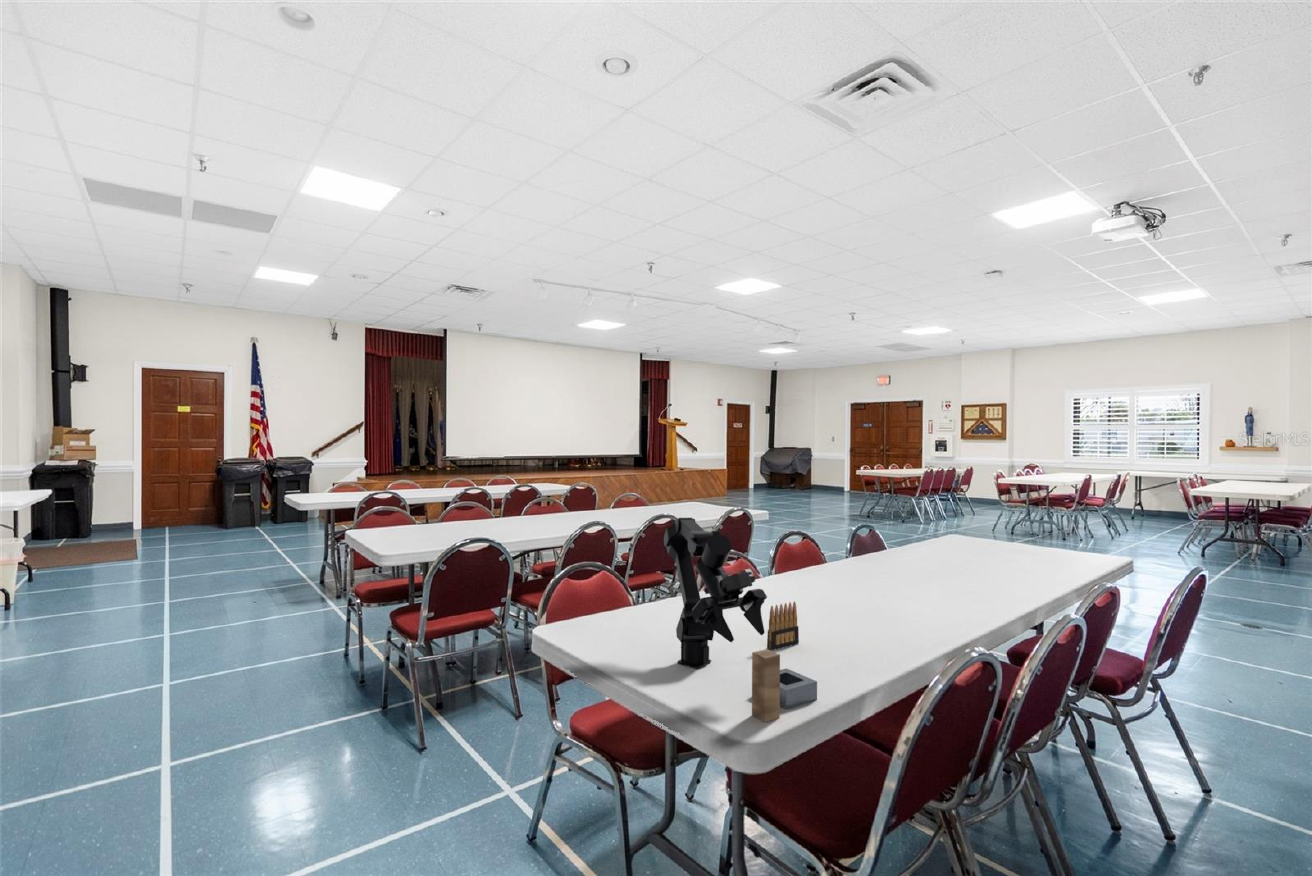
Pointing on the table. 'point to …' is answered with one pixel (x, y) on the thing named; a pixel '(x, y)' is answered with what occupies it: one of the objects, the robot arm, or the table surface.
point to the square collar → (796, 689)
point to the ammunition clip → (782, 627)
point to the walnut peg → (765, 685)
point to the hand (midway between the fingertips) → (748, 637)
